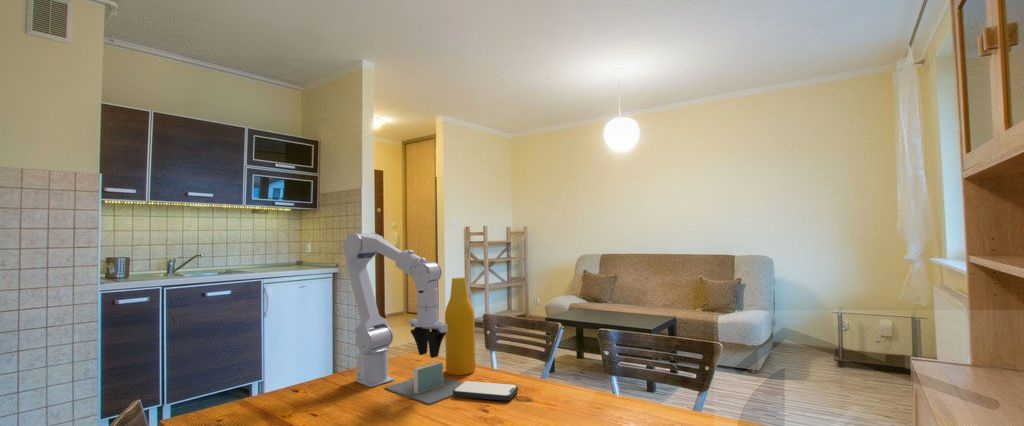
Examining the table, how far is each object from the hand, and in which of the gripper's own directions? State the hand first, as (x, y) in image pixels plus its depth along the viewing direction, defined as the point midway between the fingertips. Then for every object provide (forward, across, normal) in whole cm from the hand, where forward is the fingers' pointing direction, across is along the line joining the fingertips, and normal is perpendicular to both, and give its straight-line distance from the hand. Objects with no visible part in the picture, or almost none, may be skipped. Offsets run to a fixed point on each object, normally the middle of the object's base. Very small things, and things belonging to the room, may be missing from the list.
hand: (428, 355), depth 127 cm
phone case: (+9, +15, +7) cm, 19 cm away
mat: (+9, -1, +1) cm, 10 cm away
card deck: (+9, 0, 0) cm, 9 cm away
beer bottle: (+10, -6, +17) cm, 20 cm away
